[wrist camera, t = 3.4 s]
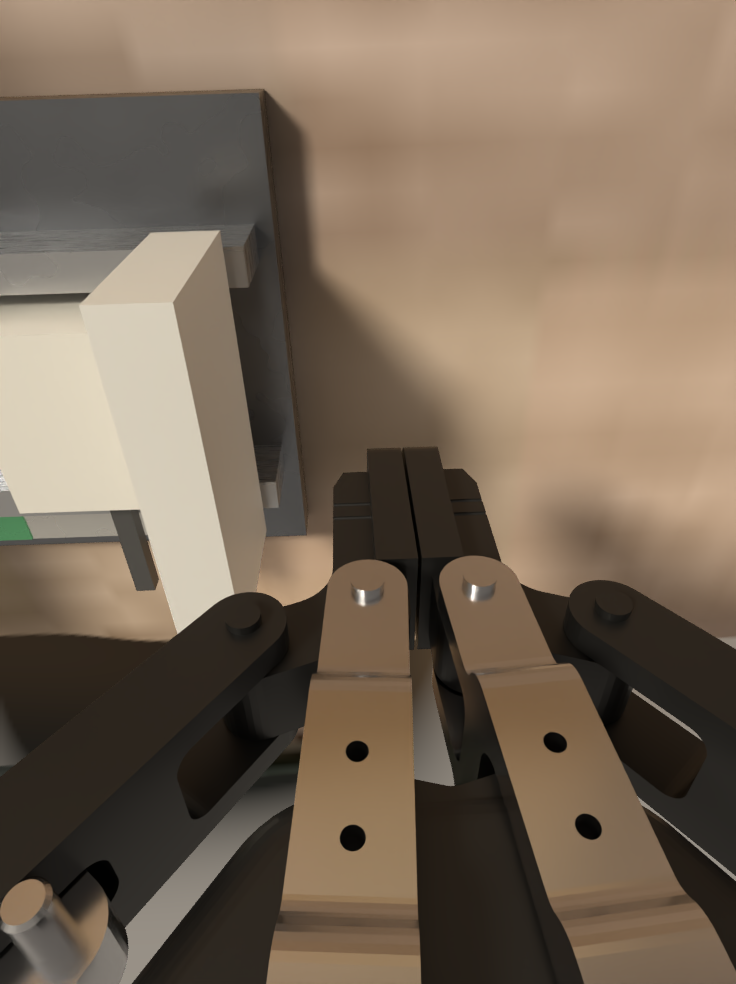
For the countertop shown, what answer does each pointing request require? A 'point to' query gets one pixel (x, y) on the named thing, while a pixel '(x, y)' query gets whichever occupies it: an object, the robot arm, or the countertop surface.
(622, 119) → the countertop surface
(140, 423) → the cream t-shaped handle
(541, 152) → the countertop surface
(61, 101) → the frame
